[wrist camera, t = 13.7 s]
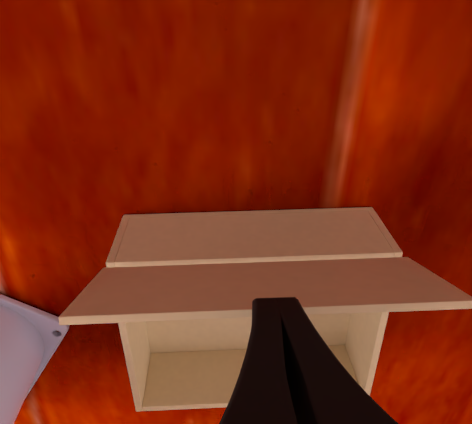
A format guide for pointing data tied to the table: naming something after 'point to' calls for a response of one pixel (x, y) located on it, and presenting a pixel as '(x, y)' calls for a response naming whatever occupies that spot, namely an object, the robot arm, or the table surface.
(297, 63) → the table surface
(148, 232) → the carton
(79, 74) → the table surface
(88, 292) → the flap
